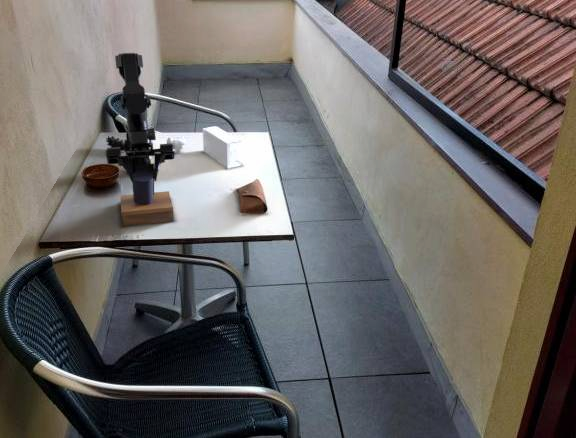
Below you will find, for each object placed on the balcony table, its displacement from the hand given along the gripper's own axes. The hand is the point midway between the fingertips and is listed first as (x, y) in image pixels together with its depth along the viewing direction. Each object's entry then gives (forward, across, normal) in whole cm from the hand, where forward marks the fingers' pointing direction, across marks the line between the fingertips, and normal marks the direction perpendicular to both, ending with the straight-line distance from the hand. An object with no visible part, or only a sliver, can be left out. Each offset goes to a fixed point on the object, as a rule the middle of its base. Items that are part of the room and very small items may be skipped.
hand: (144, 181), depth 153 cm
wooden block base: (+6, 0, +10) cm, 12 cm away
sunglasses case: (+6, +32, +10) cm, 34 cm away
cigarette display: (-21, +29, +37) cm, 52 cm away
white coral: (-30, +15, +42) cm, 54 cm away
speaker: (+4, 0, +6) cm, 7 cm away
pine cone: (-33, -4, +45) cm, 56 cm away
